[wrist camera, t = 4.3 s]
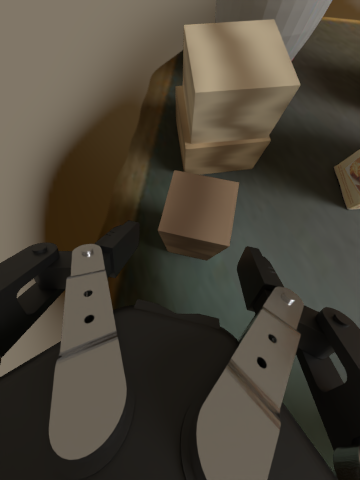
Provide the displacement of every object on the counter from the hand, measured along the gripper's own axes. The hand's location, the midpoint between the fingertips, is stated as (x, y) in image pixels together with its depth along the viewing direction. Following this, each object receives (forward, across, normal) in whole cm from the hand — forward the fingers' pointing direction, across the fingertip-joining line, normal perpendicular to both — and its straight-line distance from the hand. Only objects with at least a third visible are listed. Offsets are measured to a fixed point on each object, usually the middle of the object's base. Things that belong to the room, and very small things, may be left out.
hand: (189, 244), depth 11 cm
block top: (+15, -1, -10) cm, 18 cm away
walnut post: (+8, 0, +4) cm, 8 cm away
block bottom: (+18, 0, -7) cm, 20 cm away
